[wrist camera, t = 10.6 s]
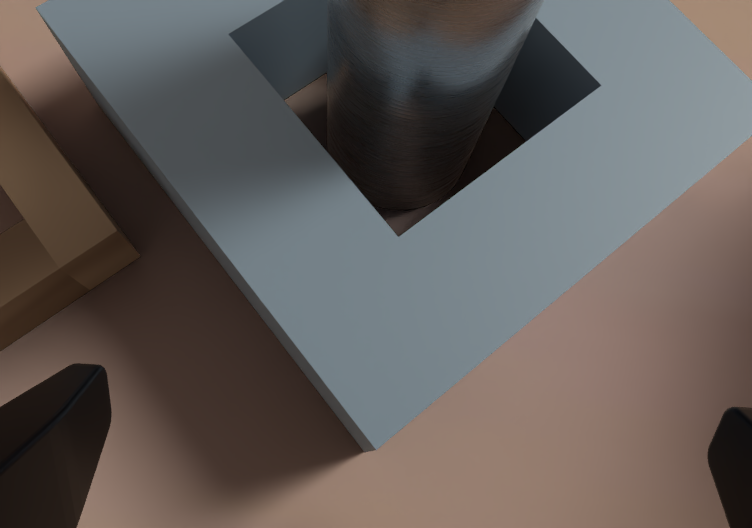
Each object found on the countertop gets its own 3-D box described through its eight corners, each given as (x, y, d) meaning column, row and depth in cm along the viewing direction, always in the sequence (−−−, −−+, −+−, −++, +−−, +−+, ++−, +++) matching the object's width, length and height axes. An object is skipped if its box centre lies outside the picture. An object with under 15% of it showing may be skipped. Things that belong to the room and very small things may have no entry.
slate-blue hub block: (689, 181, 19) (782, 110, 15) (364, 452, 16) (376, 450, 12) (424, -95, 21) (445, -218, 17) (96, 102, 18) (35, 7, 14)
